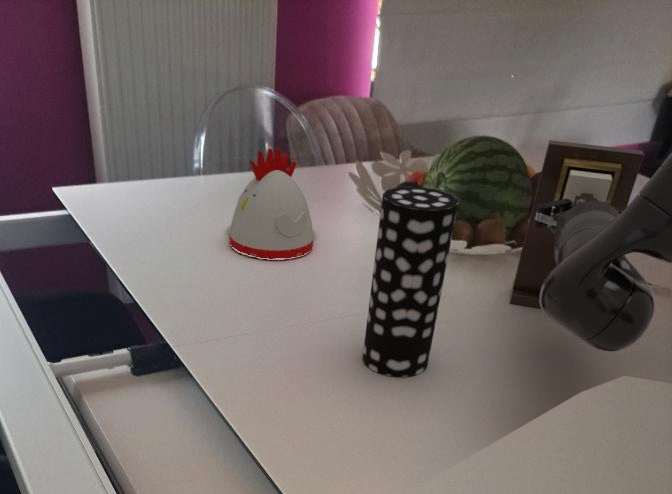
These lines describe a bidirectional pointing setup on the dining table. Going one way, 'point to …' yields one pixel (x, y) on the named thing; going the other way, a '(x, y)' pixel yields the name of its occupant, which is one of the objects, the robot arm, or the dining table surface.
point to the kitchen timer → (272, 212)
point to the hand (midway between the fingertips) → (584, 201)
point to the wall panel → (551, 188)
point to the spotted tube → (408, 279)
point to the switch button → (587, 185)
